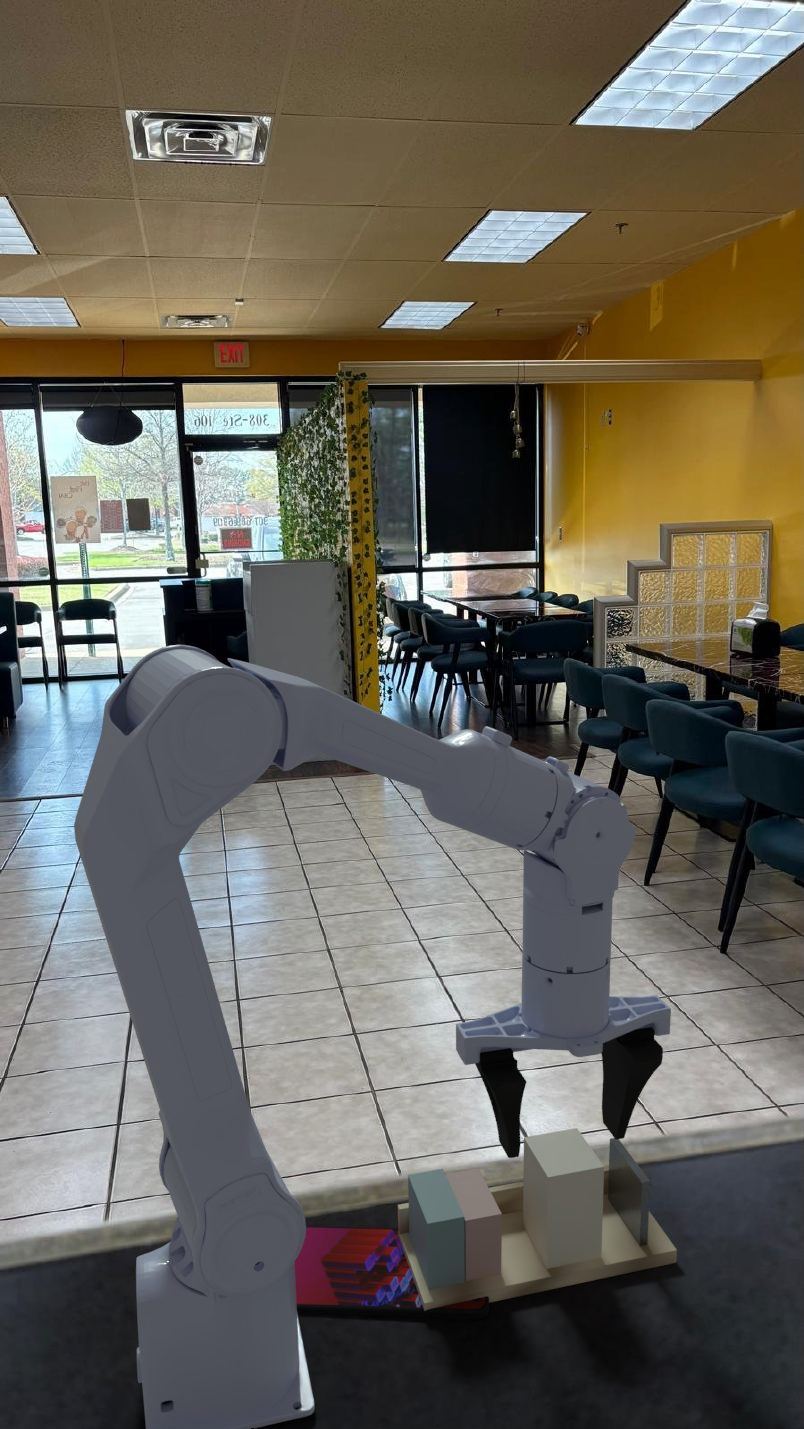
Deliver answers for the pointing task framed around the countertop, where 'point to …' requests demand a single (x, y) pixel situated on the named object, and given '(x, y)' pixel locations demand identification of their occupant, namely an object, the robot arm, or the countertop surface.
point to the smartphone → (364, 1276)
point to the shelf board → (524, 1263)
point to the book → (563, 1197)
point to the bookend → (629, 1191)
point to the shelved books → (454, 1227)
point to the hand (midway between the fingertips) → (561, 1139)
